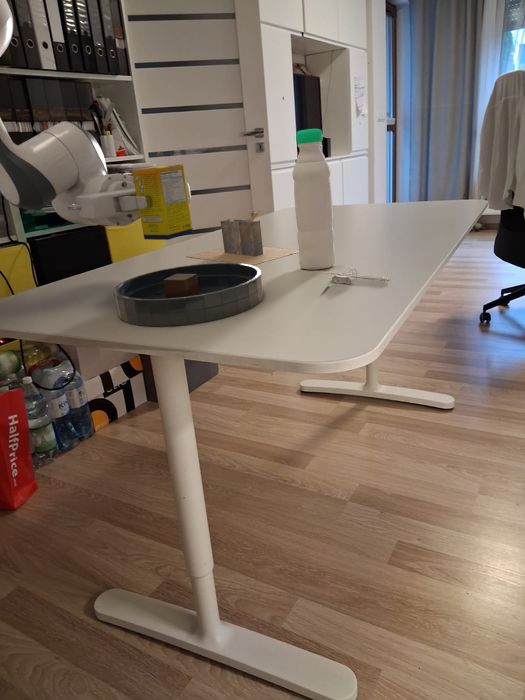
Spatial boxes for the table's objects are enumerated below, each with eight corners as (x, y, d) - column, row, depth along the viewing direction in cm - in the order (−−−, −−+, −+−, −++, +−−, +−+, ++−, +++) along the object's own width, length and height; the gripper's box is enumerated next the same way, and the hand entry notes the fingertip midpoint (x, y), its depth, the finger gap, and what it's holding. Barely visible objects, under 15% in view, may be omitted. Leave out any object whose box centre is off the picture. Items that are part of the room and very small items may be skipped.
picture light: (391, 281, 86) (391, 268, 86) (377, 287, 84) (377, 275, 83) (324, 274, 96) (323, 263, 95) (309, 280, 93) (308, 268, 92)
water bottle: (340, 262, 104) (333, 127, 95) (329, 270, 98) (321, 127, 89) (306, 262, 107) (297, 131, 98) (294, 270, 101) (283, 132, 92)
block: (187, 304, 84) (183, 279, 82) (167, 303, 85) (162, 279, 84) (200, 297, 87) (196, 273, 86) (180, 296, 89) (176, 273, 87)
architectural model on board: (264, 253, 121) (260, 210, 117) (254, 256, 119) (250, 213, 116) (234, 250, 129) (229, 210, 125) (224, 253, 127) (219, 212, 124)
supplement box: (168, 233, 90) (158, 166, 86) (194, 233, 86) (184, 163, 82) (142, 239, 85) (130, 169, 81) (168, 240, 82) (157, 166, 78)
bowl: (187, 339, 69) (182, 307, 68) (90, 318, 84) (84, 291, 82) (292, 294, 85) (290, 267, 84) (195, 283, 100) (192, 260, 98)
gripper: (57, 188, 83) (107, 185, 75) (157, 175, 98) (208, 172, 89) (66, 228, 86) (115, 229, 77) (162, 210, 100) (213, 210, 91)
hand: (166, 198), depth 83 cm, fingers closed on supplement box, 6 cm apart
